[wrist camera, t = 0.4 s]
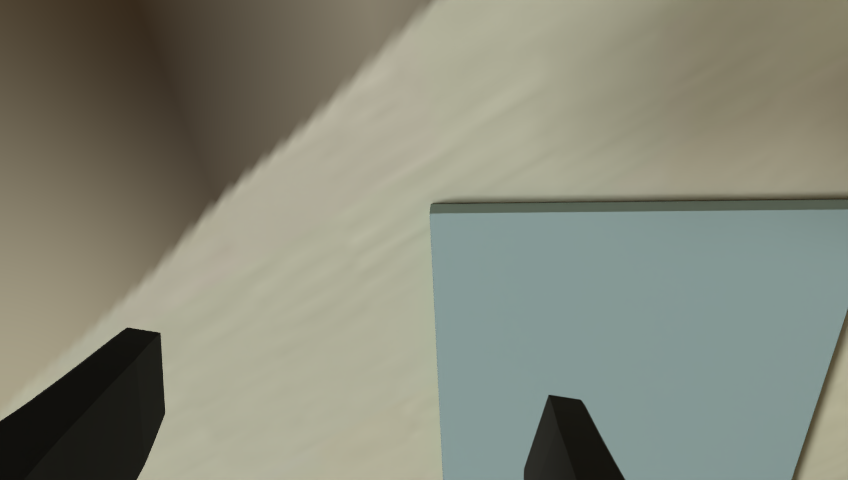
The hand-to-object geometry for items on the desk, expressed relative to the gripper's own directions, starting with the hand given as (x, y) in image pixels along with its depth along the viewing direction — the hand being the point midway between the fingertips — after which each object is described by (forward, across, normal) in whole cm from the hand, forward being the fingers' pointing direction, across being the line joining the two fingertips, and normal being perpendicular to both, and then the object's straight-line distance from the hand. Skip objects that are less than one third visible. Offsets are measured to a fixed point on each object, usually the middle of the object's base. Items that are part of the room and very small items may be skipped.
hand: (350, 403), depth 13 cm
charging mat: (+10, -9, +6) cm, 14 cm away
